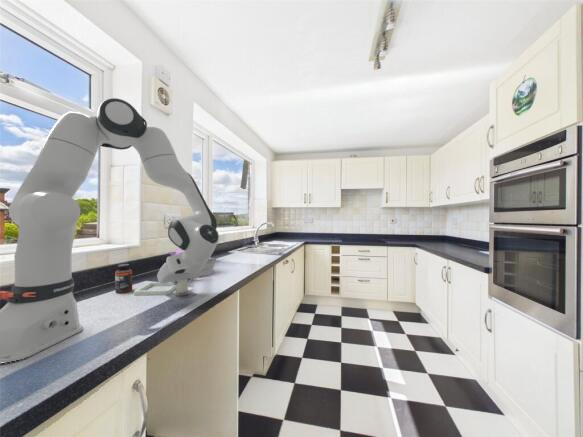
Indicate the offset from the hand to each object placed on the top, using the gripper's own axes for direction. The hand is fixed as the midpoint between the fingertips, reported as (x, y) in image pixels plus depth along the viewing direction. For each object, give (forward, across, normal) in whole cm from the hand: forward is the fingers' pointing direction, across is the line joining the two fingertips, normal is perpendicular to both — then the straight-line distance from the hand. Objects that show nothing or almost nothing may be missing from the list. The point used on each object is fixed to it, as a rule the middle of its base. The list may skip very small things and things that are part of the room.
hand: (181, 282), depth 97 cm
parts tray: (+13, +4, -5) cm, 15 cm away
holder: (+4, 0, +5) cm, 6 cm away
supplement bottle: (+22, +13, -13) cm, 29 cm away
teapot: (+27, -20, -19) cm, 39 cm away
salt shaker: (+3, 0, +4) cm, 5 cm away
